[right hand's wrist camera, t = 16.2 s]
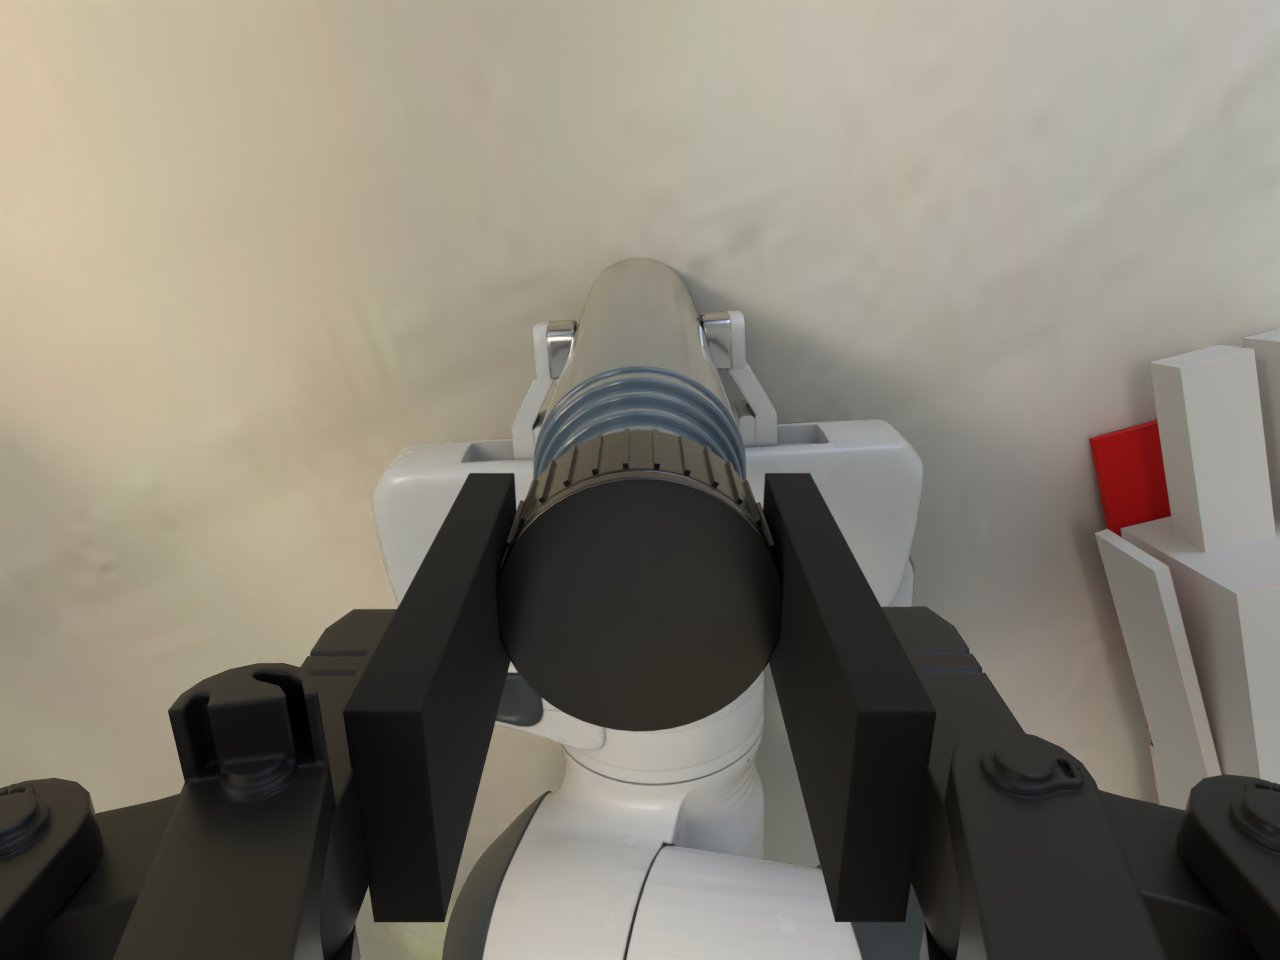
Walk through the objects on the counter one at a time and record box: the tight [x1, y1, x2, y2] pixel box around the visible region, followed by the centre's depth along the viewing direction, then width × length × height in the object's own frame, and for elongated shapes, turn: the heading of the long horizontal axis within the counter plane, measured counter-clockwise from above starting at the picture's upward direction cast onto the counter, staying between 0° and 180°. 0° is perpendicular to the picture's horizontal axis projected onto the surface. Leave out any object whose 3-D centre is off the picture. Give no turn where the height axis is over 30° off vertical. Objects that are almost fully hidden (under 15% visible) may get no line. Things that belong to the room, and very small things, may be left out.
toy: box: [1089, 329, 1280, 810], centre depth 37 cm, size 12×13×30 cm
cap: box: [496, 429, 783, 732], centre depth 14 cm, size 4×4×2 cm
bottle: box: [533, 258, 747, 481], centre depth 25 cm, size 5×5×25 cm
